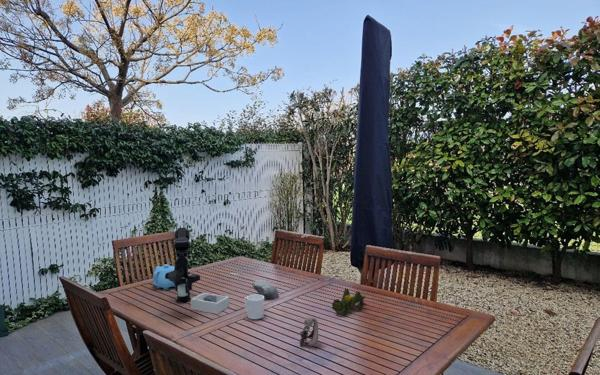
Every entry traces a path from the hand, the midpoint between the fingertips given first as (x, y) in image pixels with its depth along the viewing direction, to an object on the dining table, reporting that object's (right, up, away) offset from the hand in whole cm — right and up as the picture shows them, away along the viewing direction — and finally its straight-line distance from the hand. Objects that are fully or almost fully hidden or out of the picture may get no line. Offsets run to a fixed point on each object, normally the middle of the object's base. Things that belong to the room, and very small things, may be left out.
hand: (182, 292), depth 199 cm
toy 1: (+65, -13, -34) cm, 75 cm away
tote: (+12, -10, +8) cm, 18 cm away
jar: (0, -1, 0) cm, 1 cm away
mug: (+38, -11, -4) cm, 40 cm away
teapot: (-23, -9, +45) cm, 51 cm away
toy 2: (+88, -11, +6) cm, 89 cm away
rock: (+41, -10, +26) cm, 50 cm away
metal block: (+12, -9, +8) cm, 17 cm away
